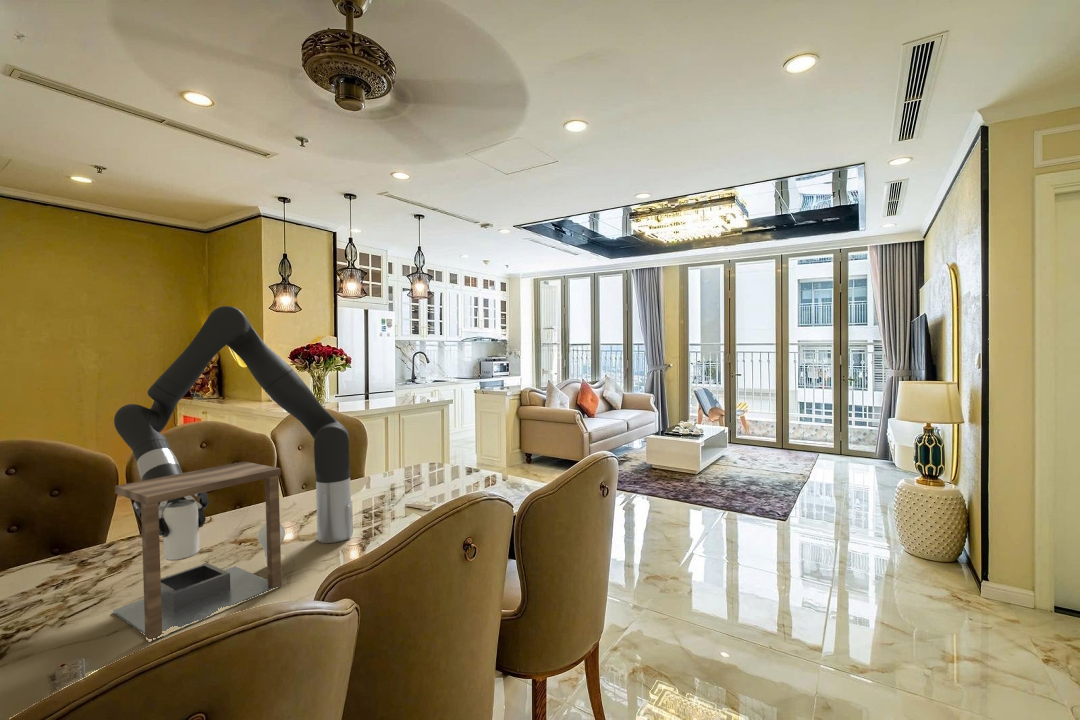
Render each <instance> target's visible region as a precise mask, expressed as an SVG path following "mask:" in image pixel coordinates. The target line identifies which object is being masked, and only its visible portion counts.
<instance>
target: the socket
mask: <svg viewBox="0 0 1080 720" xmlns="http://www.w3.org/2000/svg"><path fill="white" fill-rule="evenodd" d="M278 586H279V585H278ZM278 586H276V587H278ZM273 588H275V587H270V586H268V578H264V577H262V576H259V575H257V574H254V573H252V572H250V571H247V570H246V569H243V568H241V567H238V566H232V567H229V568H226V569H221V568H219V567H217V566H214V565H213V564H210V563H208V562H206V563H203V564H200V565H196V566H194V567H191V568H188V569H185V570H183V571H178V572H175V573H173V574H169V575H167V576H165V577H161V605H162V631H166V630H167V629H169V628H170V627H172V626H173V627H174V626H178V627H182V626H184V625H186V624H190V623H192V622H194V621H197V620H201V619H204V618H206V617H207V616H210V615H211V614H212V613H214V612H216V611H218V608H219V609H220V608H221V607H222V608H223V607H226V606H231V605H234V604H237V603H239V602H241V601H244V600H248V599H250V598H252V597H255V596H257V595H259V594H261V593H264V592H266V591H269V590H271V589H273ZM112 614H114V615H115V614H116V615H115V616H117V617H118V618H120V619H121V620H122V619H123V620H122V621H124V622H125V621H126V622H125V623H126V624H128V623H129V624H130V625H129V624H128V625H129V626H131V625H132V626H133V627H132V626H131V627H132V628H134V627H135V628H136V629H137V630H136V629H135V628H134V629H135V630H136V631H138V630H139V631H140V632H139V631H138V632H139V633H141V632H142V633H144V634H145V614H144V598H143V599H140V600H138V601H135V602H134V601H133V602H132V603H129V604H126V605H124V606H120V607H118V608H115V609H113V610H112ZM204 620H205V619H204ZM142 633H141V634H142ZM162 634H164V633H162ZM157 637H158V636H157ZM157 637H155V638H156V639H157ZM157 640H158V639H157Z"/></svg>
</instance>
